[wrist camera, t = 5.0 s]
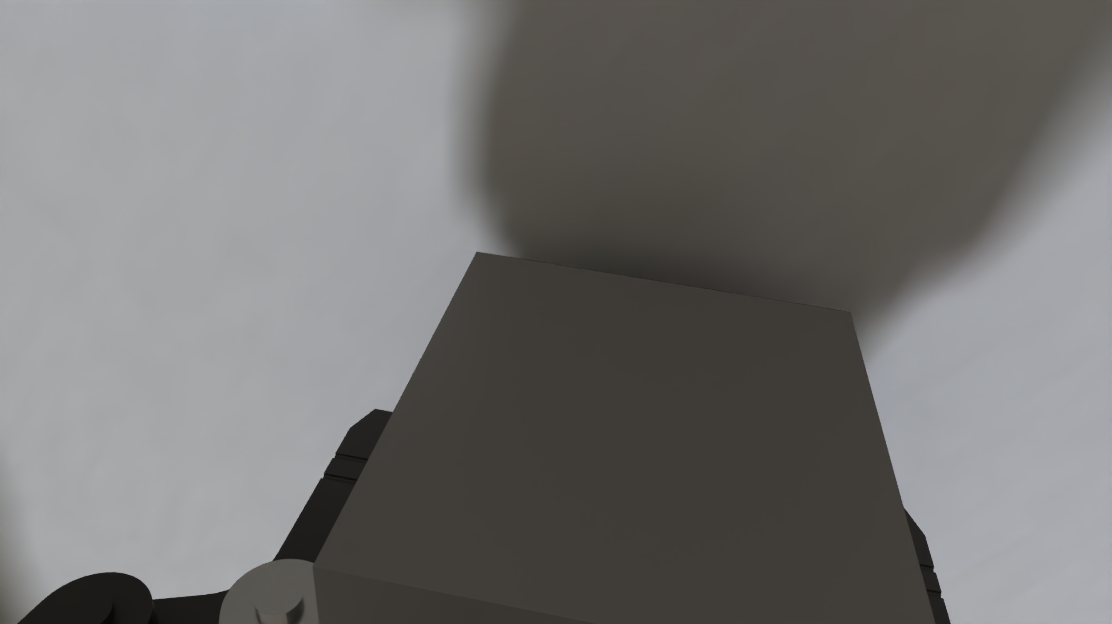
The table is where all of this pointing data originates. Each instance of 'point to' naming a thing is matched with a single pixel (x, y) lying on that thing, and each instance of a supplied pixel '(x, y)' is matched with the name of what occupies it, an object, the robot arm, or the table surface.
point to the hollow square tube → (626, 466)
